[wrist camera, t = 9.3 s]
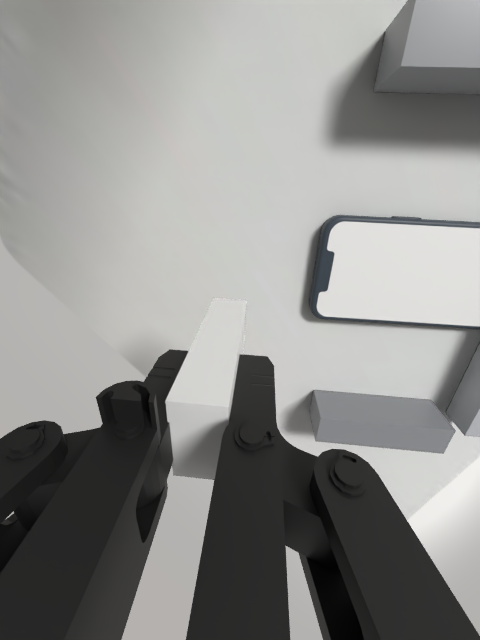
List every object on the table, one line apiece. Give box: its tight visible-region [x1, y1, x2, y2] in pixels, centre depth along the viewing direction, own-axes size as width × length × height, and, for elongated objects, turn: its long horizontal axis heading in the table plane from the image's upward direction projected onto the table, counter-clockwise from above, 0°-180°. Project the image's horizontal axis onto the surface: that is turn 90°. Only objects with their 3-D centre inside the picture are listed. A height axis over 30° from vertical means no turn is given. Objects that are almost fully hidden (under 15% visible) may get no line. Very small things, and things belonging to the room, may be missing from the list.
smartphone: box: [309, 215, 480, 329], centre depth 23 cm, size 9×2×16 cm
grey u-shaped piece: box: [310, 0, 480, 454], centre depth 21 cm, size 31×16×4 cm, turn 177°
